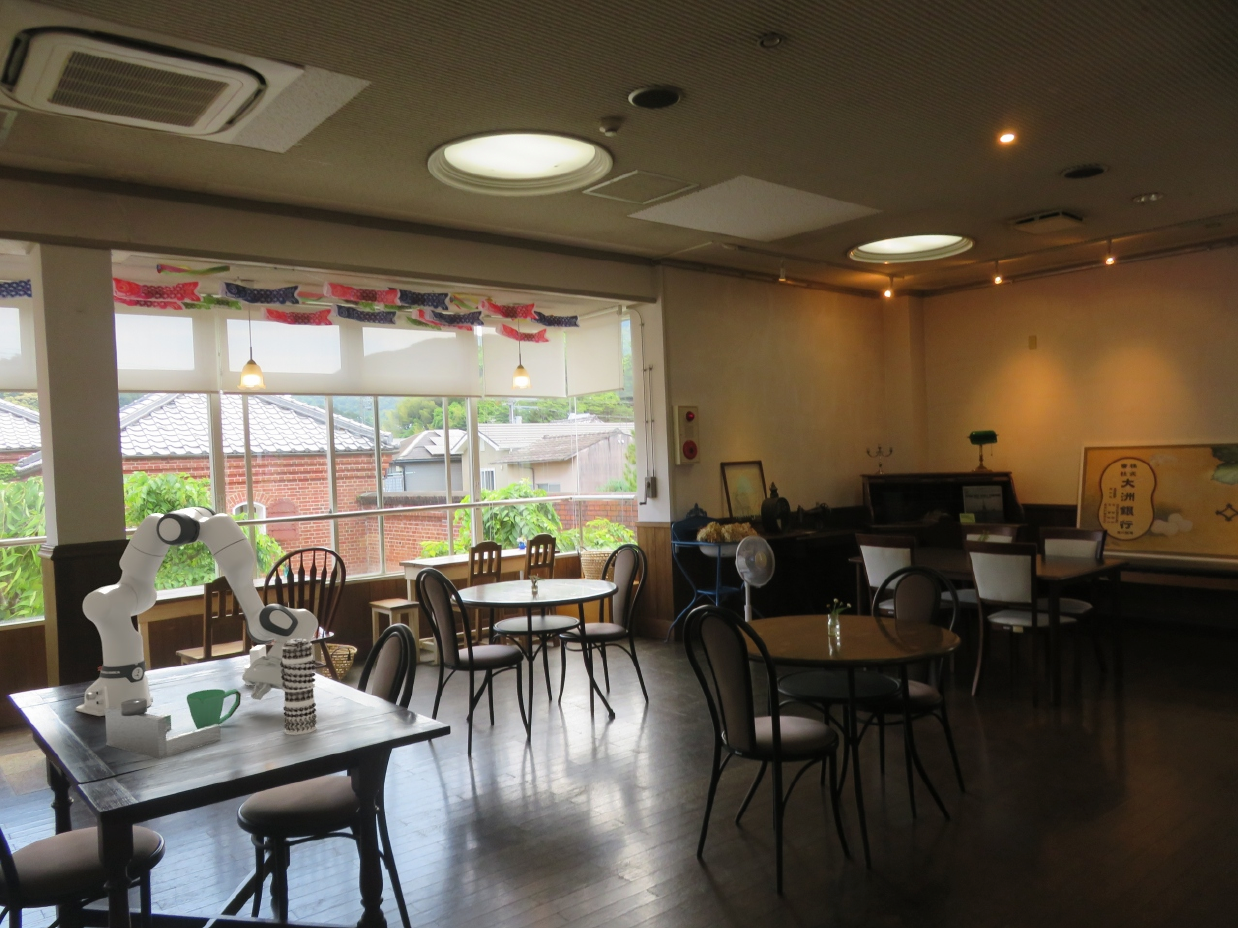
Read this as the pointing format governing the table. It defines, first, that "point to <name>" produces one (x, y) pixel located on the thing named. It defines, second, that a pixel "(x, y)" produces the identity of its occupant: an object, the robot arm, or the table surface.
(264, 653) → the base with upright slab
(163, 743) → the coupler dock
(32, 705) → the table surface
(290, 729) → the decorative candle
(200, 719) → the mug
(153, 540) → the robot arm
